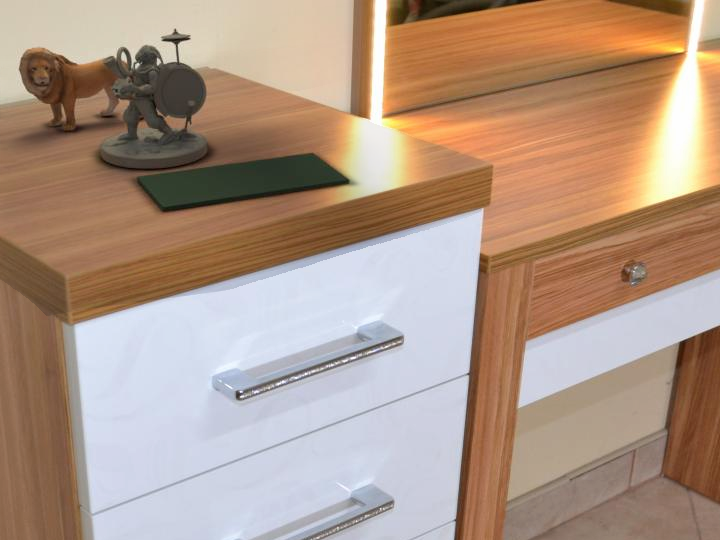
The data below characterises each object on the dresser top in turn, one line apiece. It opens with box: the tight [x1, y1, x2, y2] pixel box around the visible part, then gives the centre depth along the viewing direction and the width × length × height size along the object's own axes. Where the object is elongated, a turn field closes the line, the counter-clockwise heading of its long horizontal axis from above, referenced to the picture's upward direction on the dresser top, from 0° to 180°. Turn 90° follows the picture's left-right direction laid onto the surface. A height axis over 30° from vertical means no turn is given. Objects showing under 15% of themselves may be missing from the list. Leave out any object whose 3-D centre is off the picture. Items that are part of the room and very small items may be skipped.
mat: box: [136, 152, 350, 212], centre depth 108 cm, size 18×9×1 cm, turn 115°
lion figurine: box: [18, 46, 144, 132], centre depth 124 cm, size 15×5×9 cm, turn 133°
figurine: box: [99, 28, 208, 170], centre depth 114 cm, size 11×11×12 cm
